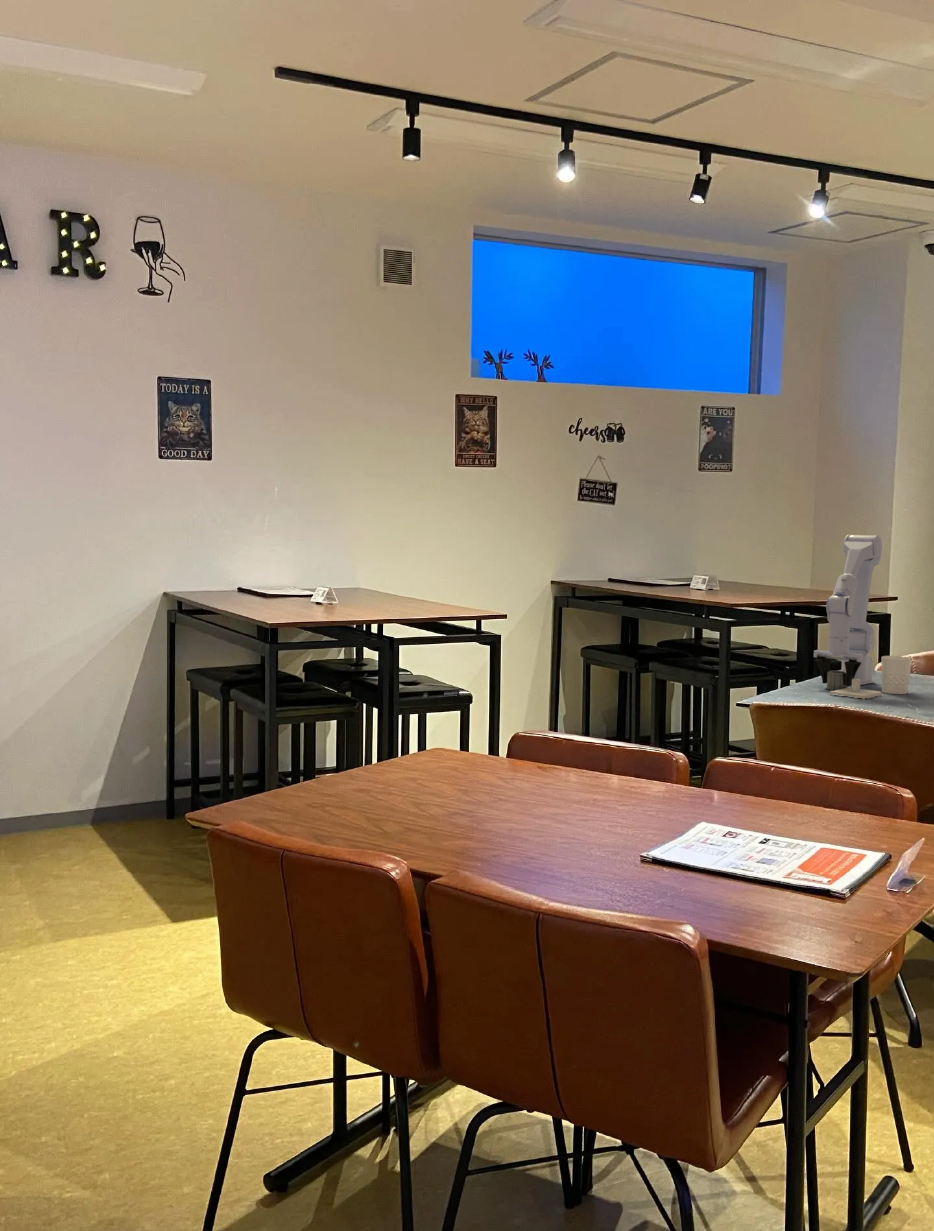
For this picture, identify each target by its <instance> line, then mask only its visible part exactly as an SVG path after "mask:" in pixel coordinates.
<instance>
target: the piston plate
mask: <svg viewBox="0 0 934 1231" xmlns="http://www.w3.org/2000/svg"><path fill="white" fill-rule="evenodd" d="M830 694H838V695H844V696H851V697H854V698H853V699H857V698H862V699H861V700H866V699H865V698H867V699H871V698H875V696H877V697H881V696H882V691H876V690H868V689H861V685H860V679H852V686H851V687H847V688H845V689H840V690H835V691H833V690H829V695H830Z"/></svg>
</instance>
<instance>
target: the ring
mask: <svg viewBox="0 0 934 1231" xmlns="http://www.w3.org/2000/svg"><path fill="white" fill-rule="evenodd" d="M845 688H849V686H846V672H845V671H842V670H829V671H827V683H826V690H828V689H831V690H830V691H833V690H840V689H845Z"/></svg>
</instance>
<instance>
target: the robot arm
mask: <svg viewBox="0 0 934 1231" xmlns="http://www.w3.org/2000/svg"><path fill="white" fill-rule="evenodd" d="M842 545H843V546H842V547H843V548H842V549H843V552H844V555H845V558H846V559H845V560H846V561H845V563H844V564H845V566H844V568H843V569H844V570H843V574H841V575H839V576H838V578H837V580H836V583H835V587H834V588H833V591H832V595H831V596H828V597H827V599H826V604H825V605H826V606H825V609H826V613H827V616H826V617H827V621H828V635H827V636H828V640H827V642H828V643H827V650H822V649H821V650H820V649H816V650H815V649H814V650H813V658H816V659H814V661H815V664H816V666H817V668H818V670H819V673H820V677H821V682H822V684H827V671H830V667H831V663H832V659H833V660H839V661H840V660H841V671H845V672H846V686H848V687H852V679H860V686H863V685H866V684H867V685H868V684H874V683H876V681H875V680H873V668H874V667H873V666H874V664H873V663H874V661H873V658H872V657H871V655H870V653H871V652H872V651H873V650H874V647H875V629H874V627H873V626H872V625H871V624H870V623H869V622H867V615H868V608H869V607H868V606H869V600H870V592H871V585H872V577H873V571H874V567H876V566H878V565H880V562H881V555H882V550H883V549H882V548H883V547H882V538H881V537H880V535H878V534H875V535H873V534H872V535H870V534H869V535H868V534H866V535H863V534H860V535H859V534H849V533H848V534H847V535H846V536H845V537H844V539H843V544H842Z"/></svg>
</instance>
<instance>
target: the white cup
mask: <svg viewBox="0 0 934 1231" xmlns="http://www.w3.org/2000/svg"><path fill="white" fill-rule="evenodd" d="M911 664H912V657H910V656H909V657H908V656H902V655H883V656H881V683H882V684H881V685H882V687H881V688H882V690H881V693H883V694H888V695H889V694H890V695H906V694H908V693H909V684H910V675H911V666H912V665H911Z"/></svg>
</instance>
